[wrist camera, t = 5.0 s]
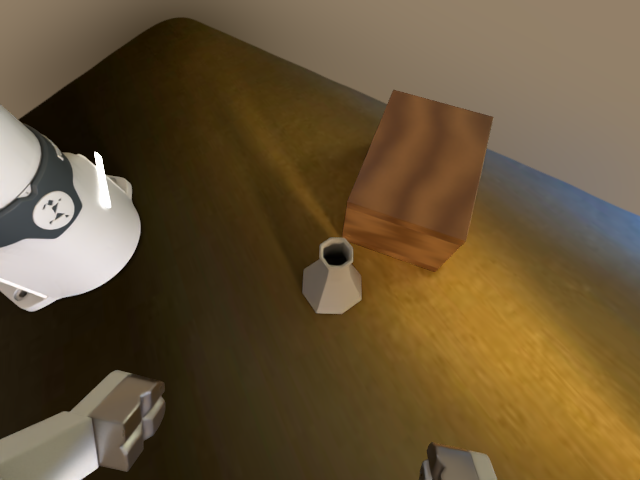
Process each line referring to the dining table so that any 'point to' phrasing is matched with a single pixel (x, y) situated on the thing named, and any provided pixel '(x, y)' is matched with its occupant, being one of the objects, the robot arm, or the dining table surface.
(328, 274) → the flask
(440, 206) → the shelf
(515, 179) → the dining table surface
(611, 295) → the dining table surface
